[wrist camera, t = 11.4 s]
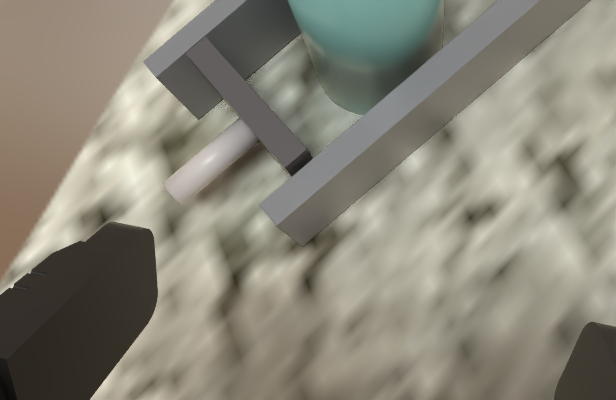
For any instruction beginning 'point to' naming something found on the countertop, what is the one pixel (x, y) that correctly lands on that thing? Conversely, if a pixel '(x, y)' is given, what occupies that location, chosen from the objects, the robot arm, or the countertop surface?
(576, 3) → the lane
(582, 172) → the countertop surface
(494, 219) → the countertop surface
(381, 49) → the teal rounded cylinder
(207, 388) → the countertop surface
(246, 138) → the pusher
